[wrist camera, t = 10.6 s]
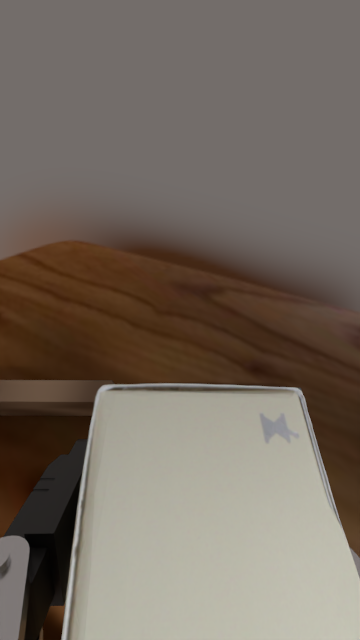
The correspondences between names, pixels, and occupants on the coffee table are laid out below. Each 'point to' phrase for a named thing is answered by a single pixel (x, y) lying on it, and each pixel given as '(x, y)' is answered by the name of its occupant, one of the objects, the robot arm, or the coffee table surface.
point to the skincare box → (207, 520)
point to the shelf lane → (49, 397)
